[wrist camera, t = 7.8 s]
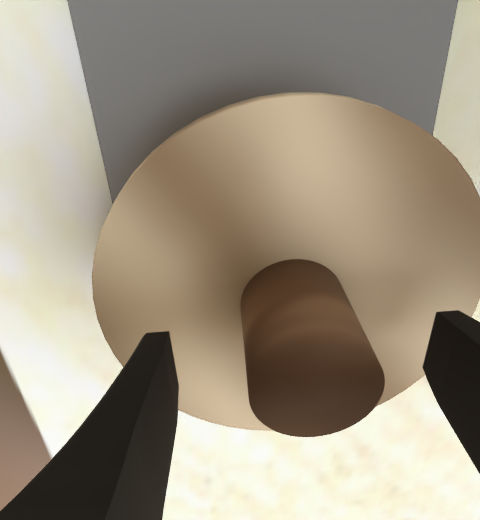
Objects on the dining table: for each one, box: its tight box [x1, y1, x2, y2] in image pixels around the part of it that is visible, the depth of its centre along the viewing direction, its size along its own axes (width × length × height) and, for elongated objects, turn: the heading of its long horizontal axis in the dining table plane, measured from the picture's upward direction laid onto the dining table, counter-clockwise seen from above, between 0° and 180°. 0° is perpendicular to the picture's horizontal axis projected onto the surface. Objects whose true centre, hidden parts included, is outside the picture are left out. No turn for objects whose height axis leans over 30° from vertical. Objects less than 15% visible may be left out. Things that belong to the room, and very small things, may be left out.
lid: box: [92, 92, 480, 437], centre depth 11 cm, size 12×12×4 cm
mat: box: [68, 0, 458, 203], centre depth 15 cm, size 25×13×1 cm, turn 3°
